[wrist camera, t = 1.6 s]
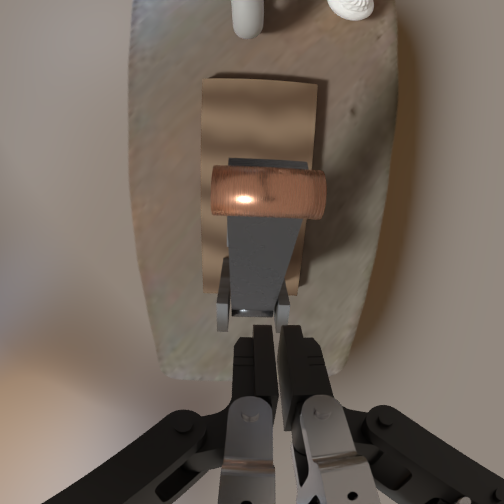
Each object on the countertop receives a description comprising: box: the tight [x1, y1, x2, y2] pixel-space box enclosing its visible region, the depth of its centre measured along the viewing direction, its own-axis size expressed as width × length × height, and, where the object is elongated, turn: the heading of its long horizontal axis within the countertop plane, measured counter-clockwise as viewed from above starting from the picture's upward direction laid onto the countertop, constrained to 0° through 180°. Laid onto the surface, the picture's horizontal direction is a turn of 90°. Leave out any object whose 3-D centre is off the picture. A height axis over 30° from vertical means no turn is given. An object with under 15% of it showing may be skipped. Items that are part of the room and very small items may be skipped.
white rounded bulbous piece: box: [327, 0, 374, 21], centre depth 26 cm, size 6×6×7 cm
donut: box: [231, 0, 264, 39], centre depth 26 cm, size 10×4×10 cm, turn 3°
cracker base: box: [201, 78, 318, 333], centre depth 35 cm, size 30×14×13 cm, turn 178°
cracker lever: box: [211, 158, 327, 317], centre depth 28 cm, size 24×6×6 cm
